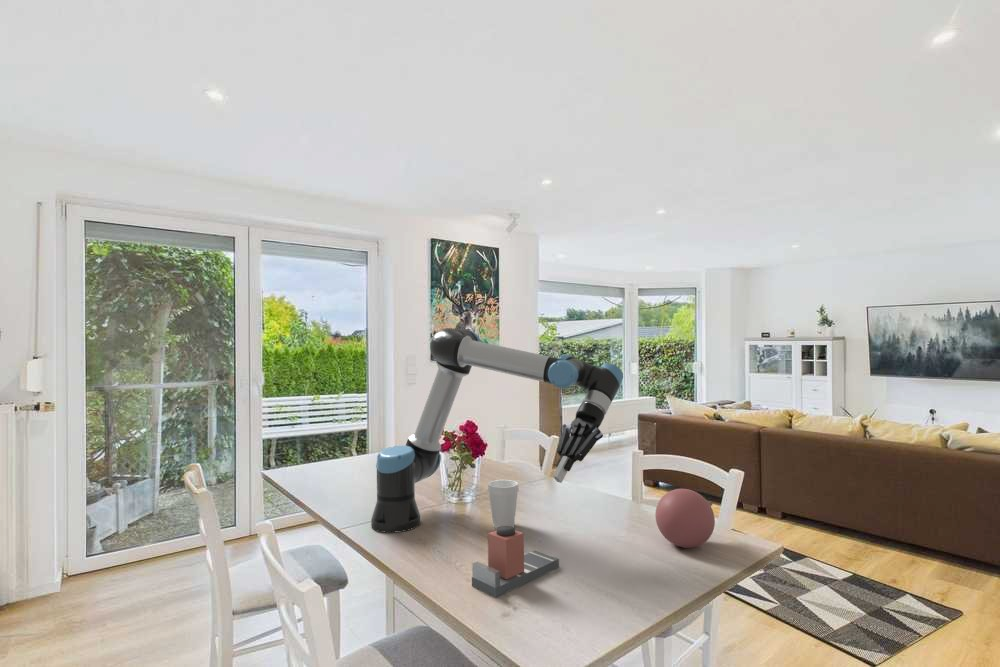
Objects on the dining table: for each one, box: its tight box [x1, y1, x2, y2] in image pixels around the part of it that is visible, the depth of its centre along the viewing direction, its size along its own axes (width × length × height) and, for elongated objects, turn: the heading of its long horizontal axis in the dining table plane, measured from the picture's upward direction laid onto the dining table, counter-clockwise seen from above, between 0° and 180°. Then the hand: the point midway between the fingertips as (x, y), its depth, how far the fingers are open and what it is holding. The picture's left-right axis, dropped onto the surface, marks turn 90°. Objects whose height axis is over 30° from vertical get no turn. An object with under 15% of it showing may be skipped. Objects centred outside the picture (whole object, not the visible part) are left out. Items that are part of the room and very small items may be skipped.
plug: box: [487, 526, 525, 580], centre depth 123 cm, size 6×6×10 cm
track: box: [471, 550, 560, 598], centre depth 126 cm, size 22×8×5 cm, turn 135°
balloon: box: [655, 488, 716, 549], centre depth 145 cm, size 15×20×15 cm
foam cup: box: [487, 479, 519, 529], centre depth 161 cm, size 10×9×13 cm
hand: (557, 479), depth 138 cm, fingers closed
